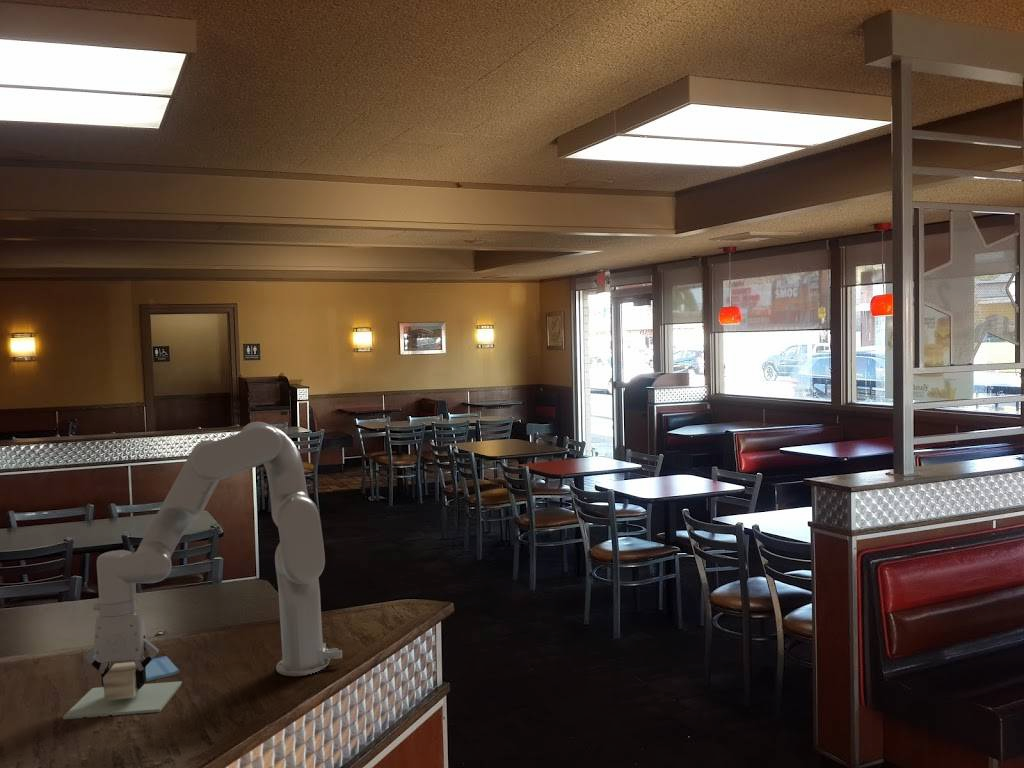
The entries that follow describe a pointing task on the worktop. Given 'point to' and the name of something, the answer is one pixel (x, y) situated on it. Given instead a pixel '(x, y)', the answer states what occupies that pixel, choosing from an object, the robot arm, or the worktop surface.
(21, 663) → the worktop surface
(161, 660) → the waterproof phone case
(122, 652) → the robot arm
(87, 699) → the card mat
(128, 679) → the card box
